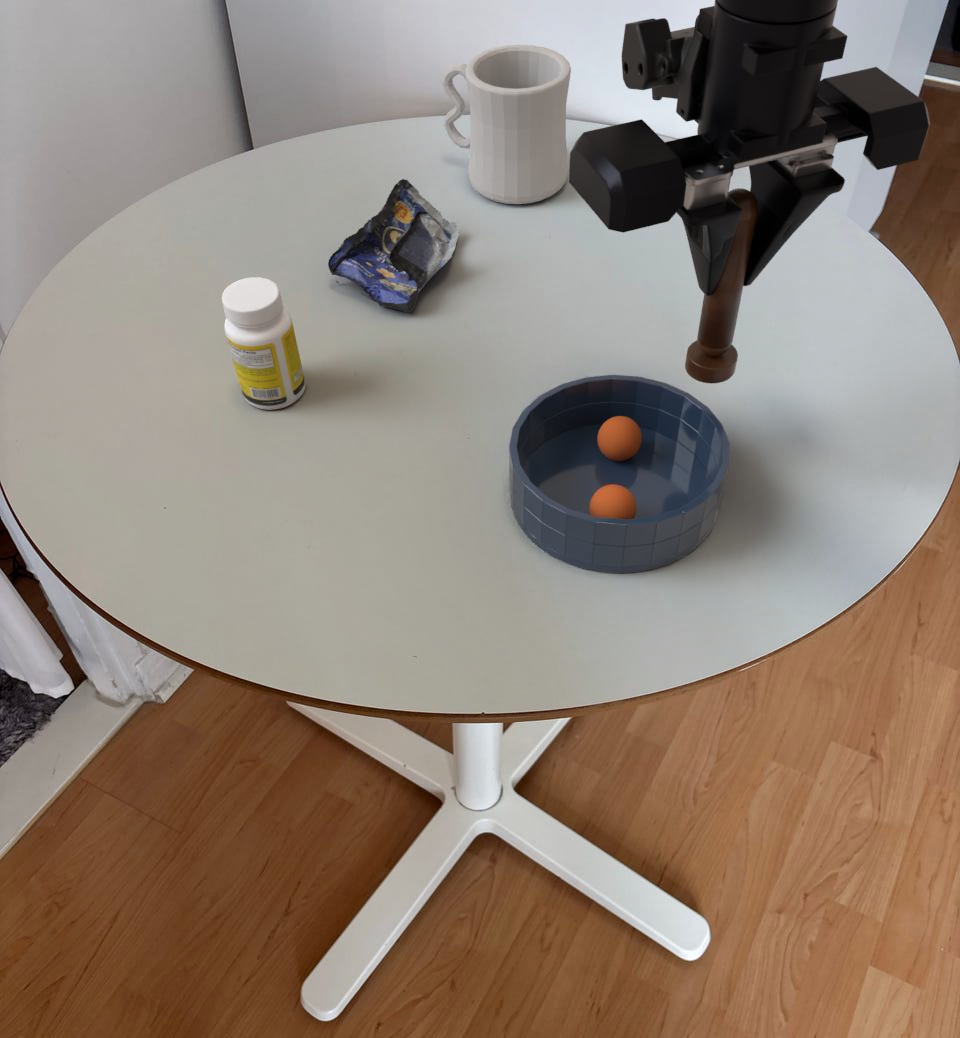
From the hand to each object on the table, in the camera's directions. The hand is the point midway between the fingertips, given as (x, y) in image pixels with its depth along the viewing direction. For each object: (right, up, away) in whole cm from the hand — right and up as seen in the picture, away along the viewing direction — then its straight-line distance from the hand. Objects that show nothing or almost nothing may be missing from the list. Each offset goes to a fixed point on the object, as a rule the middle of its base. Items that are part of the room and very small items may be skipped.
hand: (724, 286), depth 61 cm
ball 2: (-6, -13, +4) cm, 15 cm away
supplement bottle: (-30, -3, +16) cm, 34 cm away
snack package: (-21, +9, +24) cm, 33 cm away
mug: (-13, +22, +33) cm, 41 cm away
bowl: (-6, -11, +8) cm, 15 cm away
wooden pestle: (0, -4, +5) cm, 6 cm away
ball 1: (-5, -7, +8) cm, 12 cm away
